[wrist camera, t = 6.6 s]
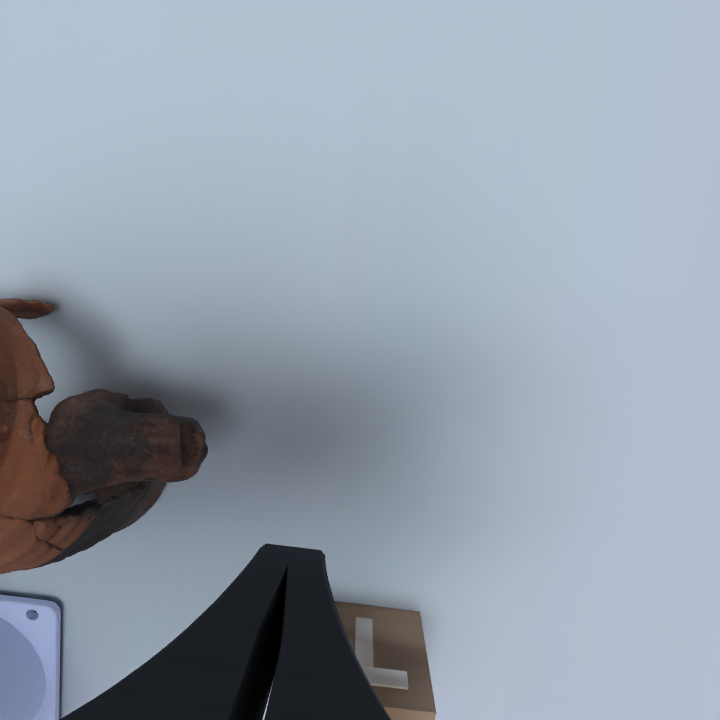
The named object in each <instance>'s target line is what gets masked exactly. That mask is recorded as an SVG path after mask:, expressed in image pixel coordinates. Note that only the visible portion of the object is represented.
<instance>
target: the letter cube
mask: <svg viewBox="0 0 720 720" xmlns="http://www.w3.org/2000/svg"><path fill="white" fill-rule="evenodd" d="M334 602H335V605H336V608H337V611H338V613H339V616H340V619H341V622H342V625H343V627H344V630H345V632H346V635H347V637H348V639H349V642H350V644H351V646H352V649H353V651H354V653H355V655H356V657H357V659H358V662H359V664H360V666H361V668H362V670H363V672H364V673H365V675H366V677H367V679H368V681H369V683H370V685H371V686H372V688H373V690H374V692H375V694H376V695H377V697H378V699H379V700H380V702H381V704H382V705H383V707H384V709H385V710H386V712H387V714H388V715H389V717H390V718H391V720H435V716H436V709H435V703H434V697H433V691H432V684H431V678H430V672H429V666H428V660H427V653H426V647H425V641H424V635H423V629H422V622H421V616H420V612H417V611H409V610H401V609H393V608H385V607H377V606H369V605H361V604H353V603H345V602H337V601H334Z"/></svg>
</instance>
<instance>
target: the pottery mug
mask: <svg viewBox="0 0 720 720" xmlns="http://www.w3.org/2000/svg"><path fill="white" fill-rule="evenodd" d="M53 308H54V306H53V305H52V304H47V303H42V302H40V301H37V300H21V299H15V298H12V299H0V574H4V573H9V572H11V571H17V570H29V569H33V568H37V567H42V566H45V565H48V564H51V563H54V562H59V561H61V560H63V559H65V558H66V557H69V556H72V555H74V554H76V553H78V552H80V551H84V550H86V549H88V548H90V547H92V546H94V545H95V544H97V543H98V542H100V541H102V540H104V539H105V538H107V537H109V536H110V535H111V534H113V533H115V532H117V531H120V530H122V529H124V528H126V527H127V526H130V525H131V524H133V523H134V522H136V521H137V520H138V519H139V518H140V517H141V516H143V515H144V514H145V513H146V512H147V511H148V510H149V509H150V508H151V507H152V506H153V504H154V503H155V502H156V501H157V499H158V498H159V496H160V495H161V492H162V489H163V488H164V486H165V484H166V482H178V481H183V480H187V479H189V478H191V477H192V476H194V475H195V474H196V473H197V472H198V470H199V467H200V465H201V463H202V462H203V460H204V459H205V458H206V456H207V454H208V447H207V445H206V442H205V439H206V435H205V432H204V431H203V429H202V428H201V426H200V424H199V423H198V422H197V421H196V420H194V419H192V418H187V417H177V416H173V415H169V413H168V411H167V409H166V408H165V407H164V406H163V404H162V403H161V402H160V401H159V400H154V399H152V398H145V399H139V398H136V399H131V398H129V396H128V395H126V394H122V393H112V392H109V391H107V390H103V389H95V390H91V391H88V392H86V393H83V394H80V395H76V396H71V397H68V398H67V399H65V400H63V401H61V402H59V403H58V404H57V406H56V407H55V408H54V410H53V411H52V413H51V417H50V420H49V423H46V422H45V421H44V420H43V419H42V418H41V417H40V416H39V413H38V410H37V407H36V405H35V403H34V402H35V400H36V399H38V398H41V397H43V396H45V395H48V394H50V393H52V392H53V391H54V389H55V386H54V382H53V379H52V377H51V376H50V374H49V372H48V370H47V368H46V366H45V364H44V362H43V360H42V359H41V356H40V353H39V351H38V348H37V346H36V344H35V343H34V342H33V340H32V339H31V338H30V337H29V336H28V335H27V333H26V332H25V330H24V329H23V326H22V325H21V324H20V322H19V321H18V319H17V318H24V319H35V318H39V317H43V316H46V315H48V314H49V313H51V312H52V311H53ZM93 491H95V495H96V498H95V499H94V500H92V501H87V502H84V503H82V504H79V505H75V506H73V507H70V508H68V507H69V506H70V505H71V504H72V503H73V501H74V499H75V497H76V496H79V495H86V494H89V493H91V492H93Z"/></svg>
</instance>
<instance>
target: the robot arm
mask: <svg viewBox="0 0 720 720" xmlns="http://www.w3.org/2000/svg"><path fill="white" fill-rule="evenodd" d="M33 610H35V611H36V612H37V613H35V612H34V611H33ZM60 620H61V611H60V608H59V606H58V605H57V604H56V603H54V602H52V601H48V600H40V599H32V598H24V597H15V596H7V595H0V720H59V685H60ZM273 680H274V681H273ZM272 683H273V685H272ZM271 687H272V689H271ZM270 690H271V694H270ZM269 694H270V698H269V702H268V707H267V711H266V715H265V720H391V718H390V717H389V715H388V714H387V712H386V710H385V709H384V707H383V705H382V704H381V702H380V700H379V699H378V697H377V695H376V694H375V692H374V690H373V688H372V686H371V685H370V683H369V681H368V679H367V677H366V675H365V673H364V672H363V670H362V668H361V666H360V664H359V662H358V659H357V657H356V655H355V653H354V651H353V649H352V646H351V644H350V642H349V639H348V637H347V635H346V632H345V630H344V627H343V625H342V622H341V619H340V616H339V613H338V611H337V608H336V605H335V602H334V599H333V595H332V592H331V588H330V584H329V580H328V576H327V571H326V564H325V555H324V554H323V552H322V551H321V550H314V549H306V548H298V547H290V546H282V545H273V544H265V545H263V546H262V547H261V548H260V549H259V550H258V552H257V553H256V555H255V556H254V557H253V558H252V560H251V561H250V562H249V564H248V565H247V566H246V567H245V569H244V570H243V571H242V572H241V573H240V574H239V576H238V577H237V578H236V579H235V580H234V581H233V582H232V583H231V585H230V586H229V587H228V588H227V589H226V590H225V591H224V592H223V593H222V594H221V595H220V596H219V598H218V599H217V600H216V601H215V602H214V603H213V604H212V605H211V606H210V607H209V608H208V609H207V610H206V611H205V612H204V613H202V614H201V615H200V616H199V617H198V618H197V619H196V620H195V621H194V622H193V623H192V624H191V625H190V626H189V627H188V628H187V629H186V630H184V631H183V632H182V633H181V634H180V635H179V636H178V637H177V638H175V639H174V640H173V641H172V642H171V643H169V644H168V645H167V646H166V647H165V648H163V649H162V650H161V651H160V652H158V653H157V654H156V655H155V656H153V657H152V658H151V659H150V660H148V661H147V662H146V663H144V664H143V665H142V666H140V667H139V668H138V669H136V670H135V671H133V672H132V673H131V674H129V675H128V676H127V677H125V678H124V679H122V680H121V681H120V682H118V683H117V684H115V685H114V686H113V687H111V688H110V689H108V690H107V691H105V692H104V693H102V694H101V695H99V696H98V697H96V698H95V699H93V700H91V701H90V702H88V703H86V704H85V705H83V706H81V707H80V708H78V709H77V710H75V711H73V712H72V713H70V714H68V715H67V716H65V717H63V718H61V719H60V720H262V719H263V715H264V712H265V708H266V704H267V701H268V697H269Z"/></svg>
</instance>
